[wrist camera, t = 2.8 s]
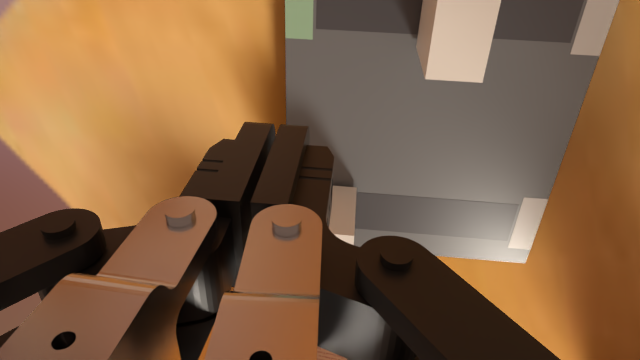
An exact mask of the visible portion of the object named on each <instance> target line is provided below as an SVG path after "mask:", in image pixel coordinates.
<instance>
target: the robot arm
mask: <svg viewBox="0 0 640 360" xmlns="http://www.w3.org/2000/svg"><path fill="white" fill-rule="evenodd" d="M333 173H334V156H333V154H332V153H331V151H330V150H329V148H328V146H315V145H310V129H309V126H298V125H283V124H281V125H280V127H279V129H278V132H277V134H276V137H275V126H274V124H268V123H253V122H245V123H244V124H243V126H242V128H241V130H240V131H239V133H238V135H237V137H236V139H235V140H229V139H223V140H221V141H220V142H218V143H217V144H215V145H214V146H212V147H210V148H209V150H208V151H207V153H206V155H205V156H204V158H203V161H201V163H200V164H199V166H198V167H197V171H195V172H194V174H193V175H192V177H191V179H190V180H189V182H188V183H187V185H186V187H185V188H184V190H183V191H182V193H181V195H180V196H179V197H175V198H171V199H167V200H164V201H162V202H160V203H158V204H156V205H155V206H153V207H152V208H151V209H150V210H149V211H148V212H147V213H146V214H145V216H144V217H143V218H142V219H141V221H140V222H139V223H138V224H137V225H135V226H128V227H120V228H112V229H104V230H103V229H102V226H101V222H100V219H99V217H98V216H97V215H96V214H95V213H94V212H91V211H89V210H85V209H64V210H58V211H55V212H51V213H48V214H45V215H43V216H41V217H38V218H35V219H33V220H30V221H28V222H25V223H23V224H21V225H18V226H16V227H13V228H11V229H8V230H6V231H3V232H1V233H0V311H1V310H3V309H5V308H7V307H9V306H11V305H13V304H15V303H17V302H19V301H21V300H23V299H25V298H27V297H29V296H31V295H33V294H35V293H37V292H38V293H39V296H40V298H41V303H40V304H39V305H38V306H37V307H36V308H35V309H34V310H33V312H32V313H31V314H30V315H29V316H28V317H27V318H26V320H25V321H24V322H23V323H22V324H21V325H20V326H18V327H16V328H14V329H12V330H11V331H9V332H7V333H5V334H3V335H1V336H0V360H317V346H318V347H320V348H323V349H325V350H328V351H330V352H332V353H335V354H337V355H339V356H342V357H344V358H347V360H560V359H559V358H558V357H557V356H555V355H554V354H553V353H552V352H551V351H549V350H548V349H547V348H546V347H544V346H543V345H542V344H541V343H540V342H538V341H537V340H536V339H535V338H534V337H532V336H531V335H530V334H529V333H528V332H526V331H525V330H524V329H523V328H522V327H520V326H519V325H518V324H517V323H515V322H514V321H513V320H512V319H511V318H509V317H508V316H507V315H506V314H505V313H503V312H502V311H501V310H500V309H499V308H497V307H496V306H495V305H494V304H493V303H491V302H490V301H489V300H488V299H486V298H485V297H484V296H483V295H482V294H480V293H479V292H478V291H477V290H476V289H474V288H473V287H472V286H471V285H470V284H468V283H467V282H466V281H465V280H464V279H462V278H461V277H460V276H459V275H457V274H456V273H455V272H454V271H453V270H451V269H450V268H449V267H448V266H447V265H445V264H444V263H443V262H442V261H441V260H439V259H438V258H437V257H436V256H435V255H433V254H432V253H431V252H430V251H429V250H427V249H426V248H425V247H423V246H422V245H421V244H419V243H417V242H415V241H413V240H411V239H408V238H404V237H400V236H390V235H389V236H380V237H375V238H372V239H370V240H368V241H367V242H365V243H364V244H363V245H362V246H361V247H358V246H355V245H352V244H349V243H347V242H345V241H343V240H341V239H339V238H338V237H336V236H335V235H334V234H333V233H332V232H331V231H330V229H329V224H330V216H331V208H332V191H333ZM231 287H235V288H234V291H230V290H231Z"/></svg>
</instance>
